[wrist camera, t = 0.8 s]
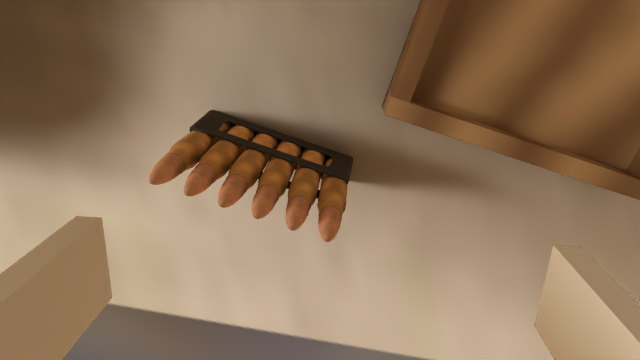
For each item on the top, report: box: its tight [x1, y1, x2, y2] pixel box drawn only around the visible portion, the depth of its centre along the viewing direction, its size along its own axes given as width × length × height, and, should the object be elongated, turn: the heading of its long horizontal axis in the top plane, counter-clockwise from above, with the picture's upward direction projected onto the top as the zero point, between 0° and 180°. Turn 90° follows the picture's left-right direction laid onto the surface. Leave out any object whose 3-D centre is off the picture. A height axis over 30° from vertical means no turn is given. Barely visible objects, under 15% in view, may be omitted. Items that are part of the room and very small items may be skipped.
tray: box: [382, 0, 640, 200], centre depth 28 cm, size 18×16×3 cm
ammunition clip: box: [149, 110, 353, 242], centre depth 28 cm, size 11×2×12 cm, turn 72°
